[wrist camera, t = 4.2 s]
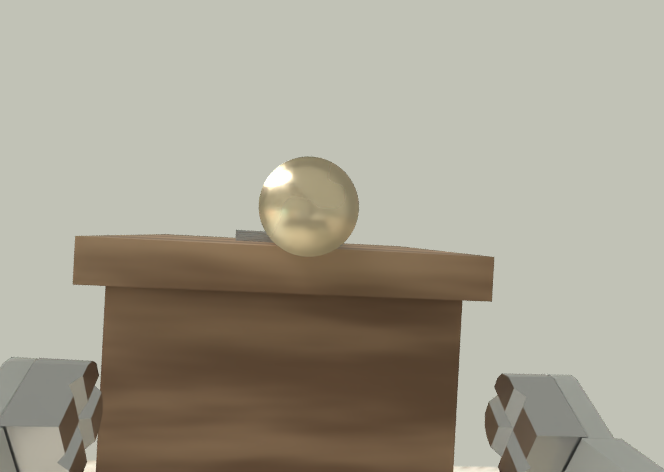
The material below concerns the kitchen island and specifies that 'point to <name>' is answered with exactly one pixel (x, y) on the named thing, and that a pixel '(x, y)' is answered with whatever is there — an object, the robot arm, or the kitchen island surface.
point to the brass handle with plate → (306, 208)
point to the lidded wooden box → (277, 354)
